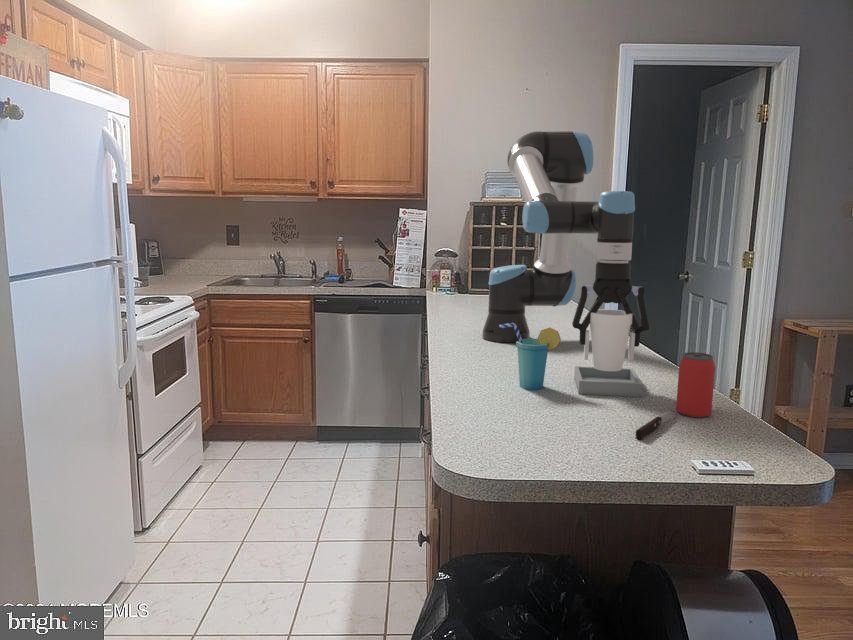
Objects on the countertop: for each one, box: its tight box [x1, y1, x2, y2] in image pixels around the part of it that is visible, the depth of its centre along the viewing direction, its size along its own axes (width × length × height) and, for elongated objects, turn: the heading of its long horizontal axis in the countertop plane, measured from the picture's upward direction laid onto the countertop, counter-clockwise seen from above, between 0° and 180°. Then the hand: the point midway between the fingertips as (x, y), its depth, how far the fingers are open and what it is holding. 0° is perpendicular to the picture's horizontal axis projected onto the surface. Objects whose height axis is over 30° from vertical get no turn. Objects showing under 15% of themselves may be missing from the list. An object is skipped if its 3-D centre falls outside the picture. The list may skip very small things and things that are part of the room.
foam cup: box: [589, 308, 634, 371], centre depth 140 cm, size 10×9×13 cm
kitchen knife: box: [635, 410, 674, 441], centre depth 115 cm, size 18×1×2 cm, turn 140°
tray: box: [573, 365, 644, 398], centre depth 142 cm, size 14×14×3 cm
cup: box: [499, 323, 562, 391], centre depth 141 cm, size 14×8×15 cm, turn 86°
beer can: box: [675, 351, 716, 418], centre depth 123 cm, size 7×7×12 cm
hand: (608, 359), depth 141 cm, fingers closed on foam cup, 9 cm apart
